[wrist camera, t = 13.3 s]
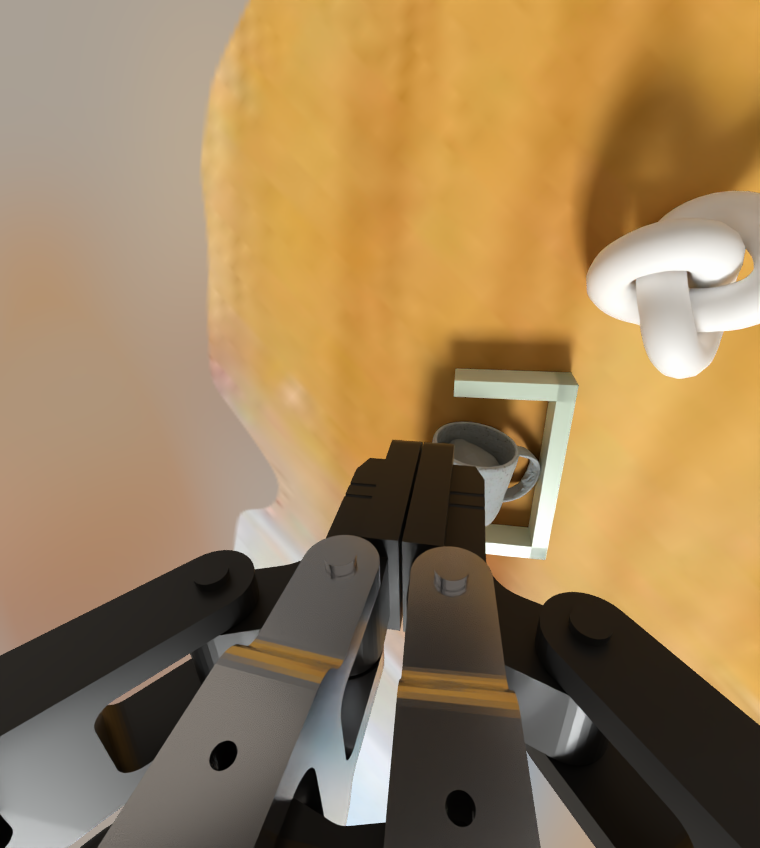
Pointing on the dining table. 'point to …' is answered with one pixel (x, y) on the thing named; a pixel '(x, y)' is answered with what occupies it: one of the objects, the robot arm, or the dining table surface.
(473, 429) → the ceramic mug
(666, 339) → the white knot sculpture
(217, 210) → the dining table surface
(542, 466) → the u-shaped bracket
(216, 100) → the dining table surface
